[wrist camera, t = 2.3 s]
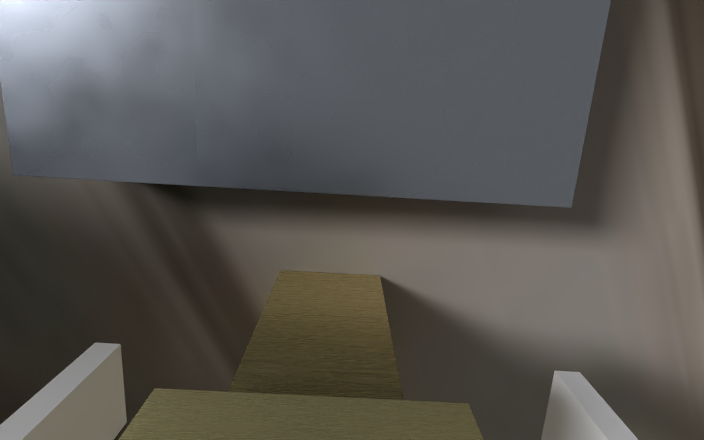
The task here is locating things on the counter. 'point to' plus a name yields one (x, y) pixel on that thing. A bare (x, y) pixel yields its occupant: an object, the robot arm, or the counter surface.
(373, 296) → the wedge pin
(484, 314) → the counter surface
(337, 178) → the gray post stand
